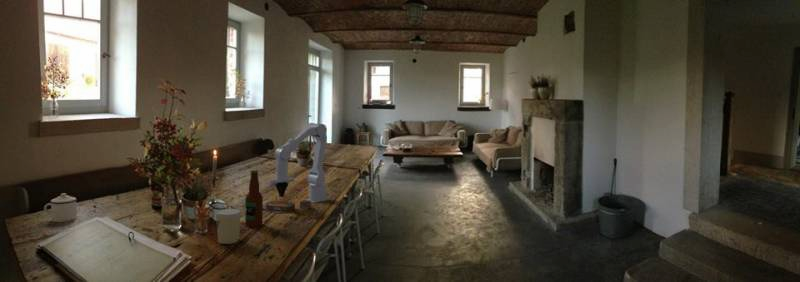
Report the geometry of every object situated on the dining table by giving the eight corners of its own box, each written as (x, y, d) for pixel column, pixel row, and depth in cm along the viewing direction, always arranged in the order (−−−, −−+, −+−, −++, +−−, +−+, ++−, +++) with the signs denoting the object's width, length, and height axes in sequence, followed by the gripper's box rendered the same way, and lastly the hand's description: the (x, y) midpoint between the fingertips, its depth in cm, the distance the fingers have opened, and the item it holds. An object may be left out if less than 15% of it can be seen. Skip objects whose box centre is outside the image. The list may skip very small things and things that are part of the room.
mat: (271, 204, 227) (271, 203, 227) (291, 211, 216) (291, 210, 216) (257, 206, 221) (257, 206, 221) (277, 214, 210) (277, 213, 210)
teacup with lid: (81, 216, 192) (80, 191, 191) (70, 222, 183) (69, 196, 182) (50, 216, 189) (49, 191, 188) (38, 222, 181) (37, 196, 179)
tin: (297, 203, 221) (291, 205, 213) (297, 208, 221) (291, 212, 213) (269, 200, 223) (263, 203, 214) (269, 206, 223) (262, 209, 214)
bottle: (245, 223, 193) (245, 169, 190) (261, 222, 196) (262, 169, 193) (245, 228, 186) (245, 172, 184) (262, 227, 189) (263, 172, 186)
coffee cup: (220, 236, 174) (220, 208, 173) (243, 236, 175) (243, 208, 174) (212, 244, 165) (212, 214, 164) (236, 244, 166) (237, 215, 165)
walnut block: (304, 207, 226) (304, 199, 225) (310, 208, 224) (310, 200, 223) (299, 208, 222) (300, 201, 221) (306, 209, 220) (306, 202, 220)
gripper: (288, 168, 228) (288, 193, 229) (265, 171, 217) (264, 197, 218) (296, 170, 223) (296, 195, 225) (273, 173, 212) (272, 199, 214)
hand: (281, 196), depth 221 cm, fingers closed
